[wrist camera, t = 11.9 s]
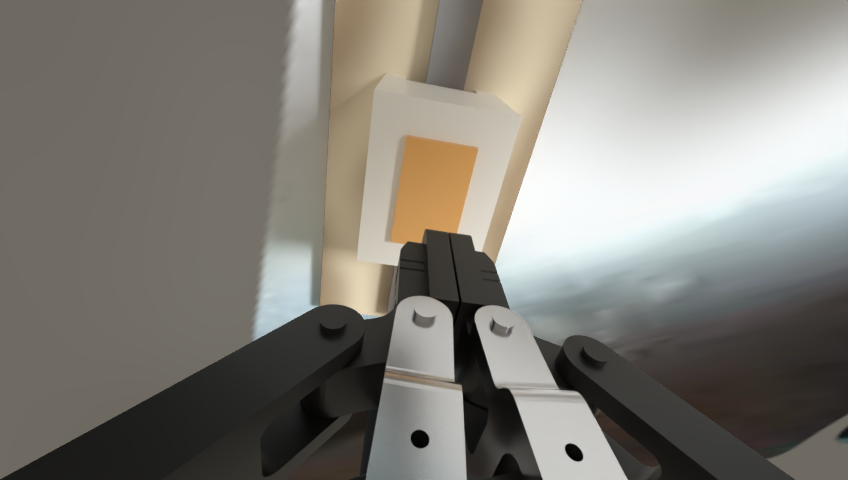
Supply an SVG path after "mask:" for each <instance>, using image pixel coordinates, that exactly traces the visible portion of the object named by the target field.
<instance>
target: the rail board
mask: <svg viewBox="0 0 848 480" xmlns="http://www.w3.org/2000/svg"><path fill="white" fill-rule="evenodd" d="M582 2H583V0H335V16H334V36H333V56H332V76H331V96H330V115H329V135H328V155H327V175H326V195H325V214H324V234H323V254H322V274H321V294H320V306H322V305H328V304H338V305H344V306H347V307H350V308H352V309H354V310H356V311H357V312H358V313H359V314H367V315H375V316H384V315H386V314H388V313H389V312H391V311H392V308H393V294H394V285H395V279H396V273H397V268H398V266H394V265H387V264H379V263H372V262H365V261H357V252H358V242H359V233H360V223H361V213H362V204H363V194H364V184H365V175H366V165H367V155H368V145H369V136H370V126H371V116H372V107H373V97H374V89H375V88H376V86H377V85H378V83H379V82H380V81H381V79H382V78H383V76H384V75H385V74H386V73H387V74H393V75H398V76H403V77H406V80H410V81H415V82H420V83H425V84H431V85H436V86H441V87H446V88H451V89H457V90H462V91H467V92H472V93H474V91H475V90H476V91H481V92H486V93H491V94H495V95H496V96H497V97H498V98H499V99H501V100H502V101H503V102H504V103H506V104H507V105H508V106H509V107H511V108H512V109H513V110H514V111H516V112H517V113H518V114H519V115H520V116H522V120H521V124H520V127H519V130H518V134H517V137H516V140H515V143H514V147H513V150H512V153H511V157H510V160H509V163H508V167H507V170H506V173H505V176H504V180H503V183H502V186H501V190H500V193H499V196H498V200H497V203H496V206H495V210H494V213H493V216H492V219H491V223H490V226H489V229H488V233H487V236H486V239H485V243H484V246H483V249H482V252H485V253H486V254H487V256H488V257H489V258H490V259H491V260H492V261H493V262H494V264H495V262H496V259H497V256H498V253H499V250H500V247H501V244H502V241H503V238H504V235H505V232H506V229H507V226H508V223H509V220H510V217H511V214H512V211H513V208H514V205H515V202H516V199H517V196H518V193H519V190H520V187H521V184H522V181H523V178H524V175H525V172H526V169H527V166H528V163H529V160H530V157H531V154H532V151H533V148H534V145H535V142H536V139H537V136H538V133H539V130H540V127H541V124H542V121H543V118H544V115H545V112H546V109H547V106H548V103H549V100H550V97H551V94H552V91H553V88H554V86H555V83H556V80H557V77H558V74H559V71H560V68H561V65H562V62H563V59H564V56H565V53H566V50H567V47H568V44H569V41H570V38H571V35H572V32H573V29H574V26H575V23H576V20H577V17H578V14H579V11H580V8H581V5H582Z"/></svg>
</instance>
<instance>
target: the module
mask: <svg viewBox="0 0 848 480" xmlns="http://www.w3.org/2000/svg"><path fill="white" fill-rule="evenodd" d="M521 120H522V116H520V115H519V114H518V113H517V112H516V111H514V110H513V109H512V108H511V107H509V106H508V105H507V104H506V103H504V102H503V101H502V100H501V99H499V98H498V97H497V96H496V95H495V94H491V93H486V92H481V91H476V90H475V91H474V93H472V92H467V91H462V90H457V89H451V88H446V87H441V86H436V85H431V84H425V83H420V82H415V81H410V80H406V77H403V76H398V75H393V74H387V73H386V74H385V75H384V76H383V78H382V79H381V81H380V82H379V83H378V85H377V86H376V88H375V89H374V97H373V107H372V116H371V126H370V136H369V145H368V155H367V165H366V175H365V184H364V194H363V204H362V213H361V223H360V233H359V242H358V252H357V261H365V262H372V263H379V264H387V265H394V266H398V262H399V256H400V250H401V248H402V247H403V246H404V245H405V244H406V243H407V242H408V241H410V242H417V243H422V239H423V234H424V231H425V229H431V230H437V231H444V232H451V233H458V234H464V235H470V236H471V237H472V240H473V244H474V248H475V251H479V252H482V249H483V246H484V243H485V239H486V236H487V233H488V229H489V226H490V223H491V219H492V216H493V213H494V210H495V206H496V203H497V200H498V196H499V193H500V190H501V186H502V183H503V180H504V176H505V173H506V170H507V167H508V163H509V160H510V157H511V153H512V150H513V147H514V143H515V140H516V137H517V134H518V130H519V127H520V124H521Z"/></svg>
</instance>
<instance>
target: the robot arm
mask: <svg viewBox="0 0 848 480" xmlns="http://www.w3.org/2000/svg"><path fill="white" fill-rule="evenodd" d="M454 375H455V377H454ZM375 408H378V411H377V416H376V422H375V427H374V433H373V438H372V444H371V449H370V455H369V460H368V466H367V471H366V474H363V475H360V476H358V477H355V478H352V479H349V480H795V479H793V478H792V477H790V476H789V475H788V474H786V473H785V472H783V471H782V470H780V469H779V468H778V467H776V466H775V465H773V464H772V463H771V462H769V461H768V460H767V459H765V458H764V457H762V456H761V455H760V454H758V453H757V452H755V451H754V450H752V449H751V448H750V447H748V446H747V445H745V444H744V443H743V442H741V441H740V440H738V439H737V438H736V437H734V436H733V435H731V434H730V433H729V432H727V431H726V430H724V429H723V428H721V427H720V426H719V425H717V424H716V423H714V422H713V421H712V420H710V419H709V418H707V417H706V416H705V415H703V414H702V413H700V412H699V411H698V410H696V409H695V408H693V407H692V406H690V405H689V404H688V403H686V402H685V401H683V400H682V399H681V398H679V397H678V396H676V395H675V394H674V393H672V392H671V391H669V390H668V389H667V388H665V387H664V386H662V385H661V384H659V383H658V382H657V381H655V380H654V379H652V378H651V377H650V376H648V375H647V374H645V373H644V372H643V371H641V370H640V369H638V368H637V367H635V366H634V365H633V364H631V363H630V362H628V361H627V360H626V359H624V358H623V357H621V356H620V355H619V354H617V353H616V352H614V351H613V350H612V349H610V348H609V347H607V346H606V345H604V344H603V343H601V342H599V341H597V340H595V339H593V338H590V337H587V336H581V335H574V336H570V337H568V338H567V339H566V340H565V342H564V344H563V346H562V347H561V346H559V345H556V344H553V343H550V342H548V341H545V340H542V339H540V338H537V337H535V336H533V335H532V333H531V331H530V329H529V327H528V325H527V323H526V322H525V320H524V319H523V318H522V317H521V316H519V315H518V314H517V313H515V312H514V311H512V310H510V308H509V305H508V303H507V300H506V297H505V294H504V291H503V288H502V285H501V283H500V279H499V276H498V274H497V270H496V267H495V264H494V262H493V261H492V260H491V259H490V258H489V257H488V256H487V254H486V253H485V252H479V251H475V248H474V244H473V240H472V237H471V236H470V235H464V234H458V233H451V232H444V231H437V230H431V229H425V231H424V234H423V239H422V243H417V242H410V241H408V242H407V243H406V244H405V245H404V246H403V247H402V248H401V250H400V256H399V262H398V268H397V273H396V279H395V285H394V294H393V308H392V311H391V312H389V313H388V314H386V315H384V316H382V317H378V318H374V319H366V320H364V319H363V317H362V316H361V315H360V314H359V313H358V312H357V311H356V310H354V309H352V308H350V307H347V306H344V305H338V304H328V305H322V306H319V307H316V308H314V309H312V310H310V311H308V312H306V313H305V314H303V315H301V316H299V317H297V318H295V319H294V320H292V321H290V322H288V323H286V324H284V325H283V326H281V327H279V328H277V329H275V330H273V331H272V332H270V333H268V334H266V335H264V336H262V337H261V338H259V339H257V340H255V341H253V342H251V343H250V344H248V345H246V346H244V347H242V348H241V349H239V350H237V351H235V352H233V353H231V354H230V355H228V356H226V357H224V358H222V359H220V360H219V361H217V362H215V363H213V364H211V365H209V366H207V367H206V368H204V369H202V370H200V371H198V372H197V373H195V374H193V375H191V376H189V377H187V378H185V379H184V380H182V381H180V382H178V383H176V384H174V385H173V386H171V387H169V388H167V389H165V390H164V391H162V392H160V393H158V394H156V395H154V396H153V397H151V398H149V399H147V400H145V401H143V402H141V403H140V404H138V405H136V406H134V407H132V408H130V409H129V410H127V411H125V412H123V413H122V414H119V415H118V416H116V417H114V418H112V419H110V420H108V421H107V422H105V423H103V424H101V425H99V426H98V427H96V428H94V429H92V430H90V431H88V432H87V433H85V434H83V435H81V436H79V437H77V438H76V439H74V440H72V441H70V442H68V443H66V444H65V445H63V446H61V447H59V448H57V449H55V450H53V451H52V452H50V453H48V454H46V455H44V456H43V457H41V458H39V459H37V460H35V461H33V462H31V463H30V464H28V465H26V466H24V467H22V468H21V469H19V470H17V471H15V472H13V473H11V474H10V475H8V476H6V477H4V478H2V479H0V480H284V479H285V478H286V477H287V476H288V475H289V474H291V473H292V472H293V471H294V470H295V469H296V468H297V467H298V466H299V465H300V464H302V463H303V462H304V461H305V460H306V459H307V458H308V457H309V456H310V455H311V454H313V453H314V452H315V451H316V450H317V449H318V448H319V447H320V446H321V445H322V444H324V443H325V442H326V441H327V440H328V439H329V438H330V437H331V436H332V435H333V434H335V433H336V432H337V431H338V430H339V429H340V428H341V427H342V426H343V425H344V424H346V423H347V421H348V420H349V419H350V418H351V416H352V414H353V413H357V412H362V411H366V410H370V409H375ZM600 410H601V411H602V412H603V413H605V414H606V415H607V416H608V417H609V418H611V419H612V420H613V421H614V422H615V423H617V424H618V425H619V426H620V427H621V428H622V429H624V430H625V431H626V432H627V433H628V434H630V435H631V436H632V437H633V438H634V439H636V440H637V441H638V442H639V443H640V444H642V445H643V446H644V447H645V448H646V449H648V450H649V451H650V452H651V453H652V454H653V455H654V456H655V457H656V459H657V460H658V462H659V464H660V465H659V466H657V467H648V466H645V465H643V464H641V463H640V462H639V461H637V460H636V459H635V458H634V457H633V456H632V455H630V454H629V453H628V452H627V451H626V450H625V449H623V448H622V447H621V446H620V445H619V444H618V443H617V442H615V441H614V440H613V439H612V438H611V437H610V436H608V435H607V434H606V433H605V432H604V431H603V430H602V429H600V427H599V425H598V423H597V421H596V420H595V417H596V416H597V414H598V413H599V411H600Z"/></svg>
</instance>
